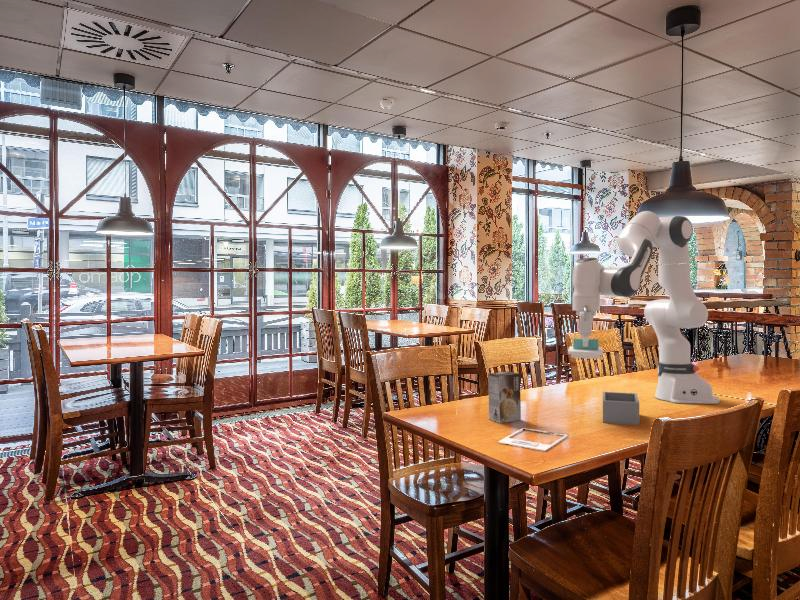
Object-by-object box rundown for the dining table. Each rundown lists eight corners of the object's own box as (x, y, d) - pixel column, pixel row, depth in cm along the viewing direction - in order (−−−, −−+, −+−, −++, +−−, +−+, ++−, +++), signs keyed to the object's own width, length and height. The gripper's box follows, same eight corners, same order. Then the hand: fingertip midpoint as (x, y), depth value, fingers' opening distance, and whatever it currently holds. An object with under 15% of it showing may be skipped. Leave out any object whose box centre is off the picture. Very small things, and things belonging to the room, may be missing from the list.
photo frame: (497, 441, 163) (523, 427, 178) (497, 444, 163) (523, 430, 178) (545, 449, 155) (568, 434, 169) (545, 453, 155) (568, 438, 169)
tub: (636, 416, 192) (636, 393, 192) (639, 427, 178) (639, 402, 177) (602, 414, 196) (602, 391, 195) (602, 425, 182) (602, 400, 181)
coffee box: (509, 416, 195) (509, 370, 194) (521, 420, 189) (521, 373, 189) (488, 419, 191) (487, 373, 190) (499, 423, 185) (499, 376, 184)
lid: (602, 353, 194) (602, 337, 194) (603, 359, 180) (603, 341, 180) (569, 352, 198) (569, 336, 198) (567, 357, 184) (567, 340, 184)
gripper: (595, 306, 178) (595, 349, 178) (595, 304, 197) (595, 343, 198) (575, 306, 180) (574, 349, 180) (577, 304, 199) (576, 342, 200)
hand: (585, 346), depth 189 cm, fingers closed on lid
